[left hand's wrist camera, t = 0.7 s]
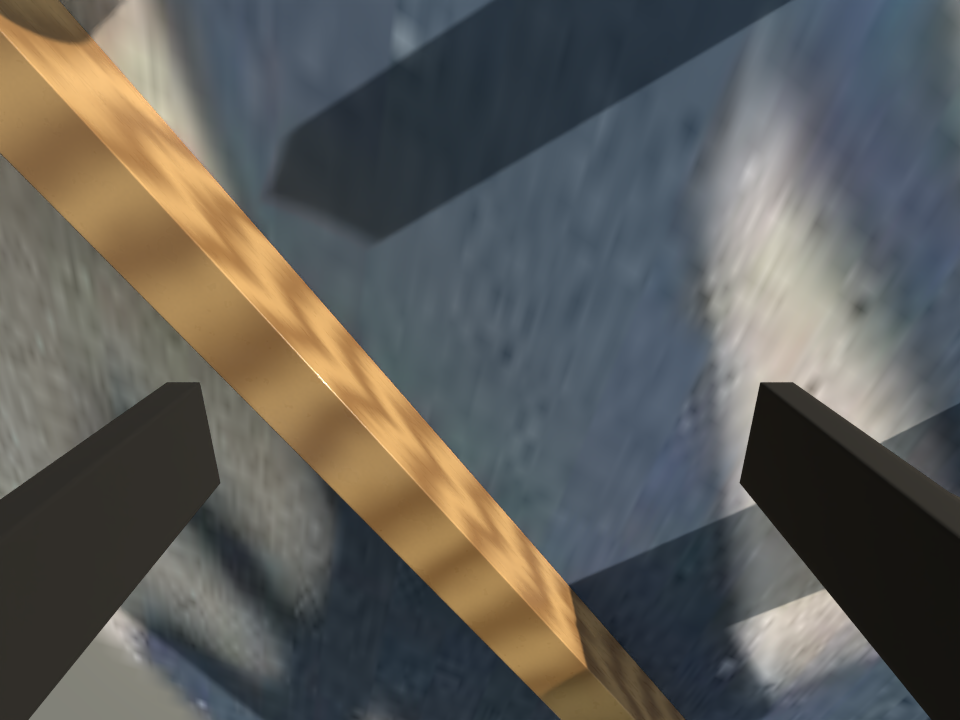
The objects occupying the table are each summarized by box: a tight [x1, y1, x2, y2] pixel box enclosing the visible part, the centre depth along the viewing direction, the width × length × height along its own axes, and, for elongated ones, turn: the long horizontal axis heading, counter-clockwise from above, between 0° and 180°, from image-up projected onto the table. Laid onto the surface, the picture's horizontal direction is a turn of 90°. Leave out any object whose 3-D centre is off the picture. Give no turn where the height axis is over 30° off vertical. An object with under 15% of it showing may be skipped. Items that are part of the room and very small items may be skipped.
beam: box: [0, 0, 685, 720], centre depth 37 cm, size 82×5×8 cm, turn 37°
